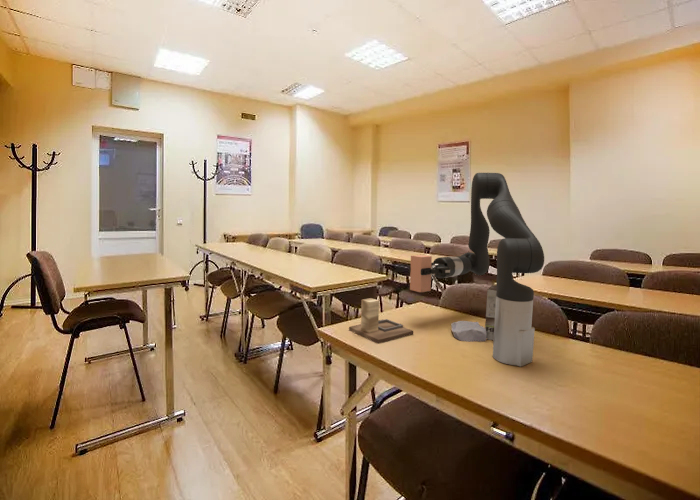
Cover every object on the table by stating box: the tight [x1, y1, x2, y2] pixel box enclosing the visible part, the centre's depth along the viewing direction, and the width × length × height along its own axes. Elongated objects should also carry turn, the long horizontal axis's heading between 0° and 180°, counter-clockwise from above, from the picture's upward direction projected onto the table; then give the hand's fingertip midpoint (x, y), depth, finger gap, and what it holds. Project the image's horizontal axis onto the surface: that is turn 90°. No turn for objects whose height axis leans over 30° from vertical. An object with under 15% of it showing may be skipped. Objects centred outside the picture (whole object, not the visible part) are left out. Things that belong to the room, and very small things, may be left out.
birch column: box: [360, 297, 380, 333], centre depth 122 cm, size 4×4×10 cm
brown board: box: [348, 319, 414, 345], centre depth 124 cm, size 15×15×1 cm
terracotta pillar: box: [409, 254, 433, 293], centre depth 130 cm, size 5×5×12 cm
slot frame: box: [378, 318, 404, 332], centre depth 126 cm, size 8×8×1 cm
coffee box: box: [484, 284, 497, 341], centre depth 120 cm, size 9×6×16 cm
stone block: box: [450, 320, 487, 343], centre depth 122 cm, size 12×5×10 cm
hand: (415, 270), depth 128 cm, fingers closed on terracotta pillar, 5 cm apart
